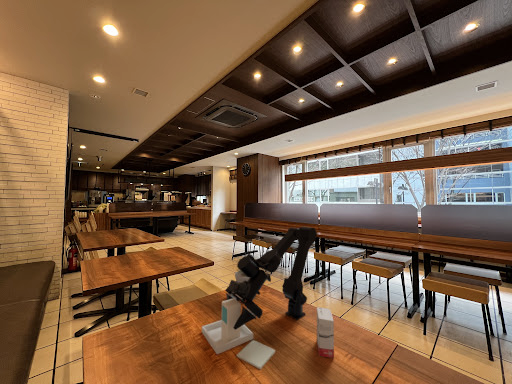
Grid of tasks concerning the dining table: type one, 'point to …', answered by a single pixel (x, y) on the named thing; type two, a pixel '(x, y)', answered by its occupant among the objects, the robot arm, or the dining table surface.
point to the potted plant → (240, 276)
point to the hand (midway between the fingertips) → (228, 322)
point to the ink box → (325, 332)
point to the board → (256, 354)
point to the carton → (230, 320)
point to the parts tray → (214, 338)
